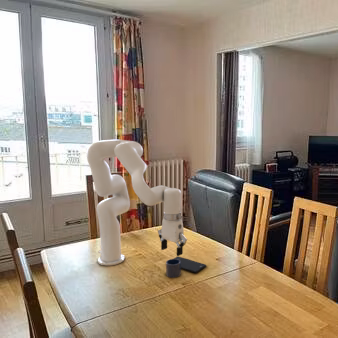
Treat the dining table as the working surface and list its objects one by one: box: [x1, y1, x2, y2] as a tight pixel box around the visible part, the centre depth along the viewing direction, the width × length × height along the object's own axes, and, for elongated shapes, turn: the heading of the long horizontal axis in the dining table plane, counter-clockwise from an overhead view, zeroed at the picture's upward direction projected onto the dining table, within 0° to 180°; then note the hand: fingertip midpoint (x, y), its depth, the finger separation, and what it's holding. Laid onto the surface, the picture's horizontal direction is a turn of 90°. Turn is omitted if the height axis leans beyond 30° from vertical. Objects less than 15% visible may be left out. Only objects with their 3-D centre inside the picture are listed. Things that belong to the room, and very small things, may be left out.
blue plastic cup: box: [165, 258, 182, 279], centre depth 150 cm, size 7×7×6 cm
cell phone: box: [173, 256, 207, 274], centre depth 159 cm, size 9×18×1 cm, turn 59°
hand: (171, 252), depth 149 cm, fingers open, 9 cm apart
